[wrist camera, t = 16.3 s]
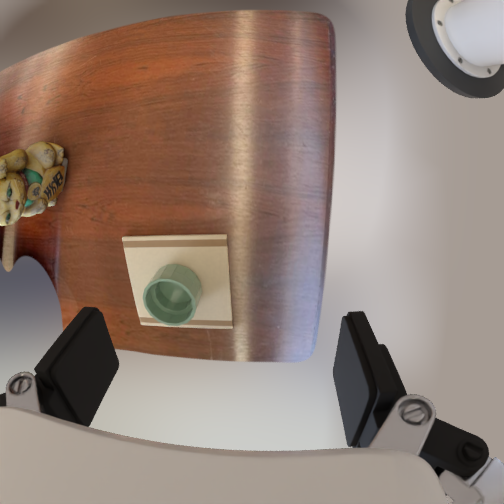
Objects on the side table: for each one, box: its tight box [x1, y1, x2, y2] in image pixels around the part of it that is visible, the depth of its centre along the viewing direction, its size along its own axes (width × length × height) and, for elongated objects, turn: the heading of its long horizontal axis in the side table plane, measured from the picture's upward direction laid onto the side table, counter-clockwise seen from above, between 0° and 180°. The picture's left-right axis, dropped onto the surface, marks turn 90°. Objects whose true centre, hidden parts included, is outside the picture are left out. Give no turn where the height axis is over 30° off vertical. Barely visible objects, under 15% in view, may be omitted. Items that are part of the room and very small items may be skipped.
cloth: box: [122, 234, 233, 329], centre depth 40 cm, size 14×14×1 cm
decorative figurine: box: [0, 141, 68, 226], centre depth 28 cm, size 10×8×15 cm
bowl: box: [143, 264, 202, 326], centre depth 38 cm, size 7×7×4 cm
